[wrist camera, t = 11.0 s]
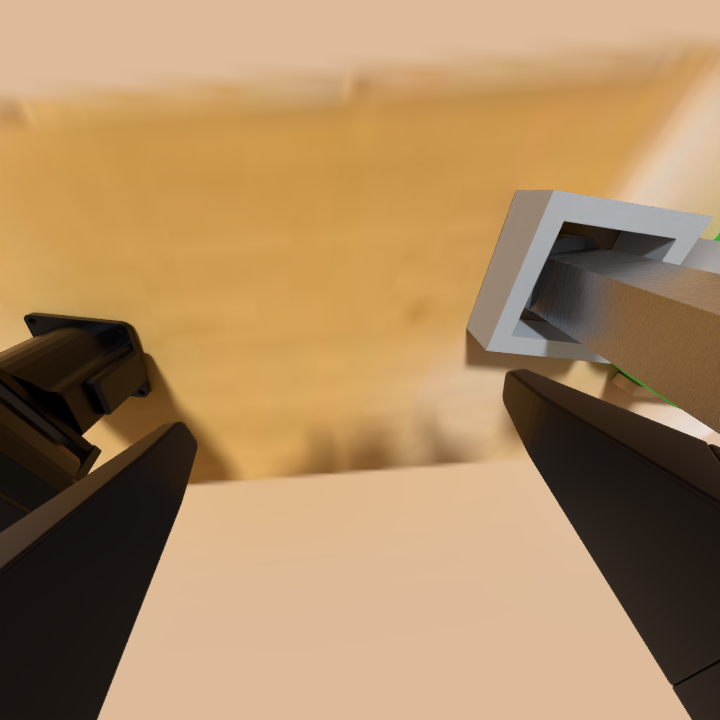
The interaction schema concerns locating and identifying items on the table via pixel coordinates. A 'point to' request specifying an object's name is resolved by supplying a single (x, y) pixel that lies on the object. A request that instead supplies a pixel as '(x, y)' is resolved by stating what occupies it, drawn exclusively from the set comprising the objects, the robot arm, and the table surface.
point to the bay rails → (632, 386)
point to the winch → (532, 246)
